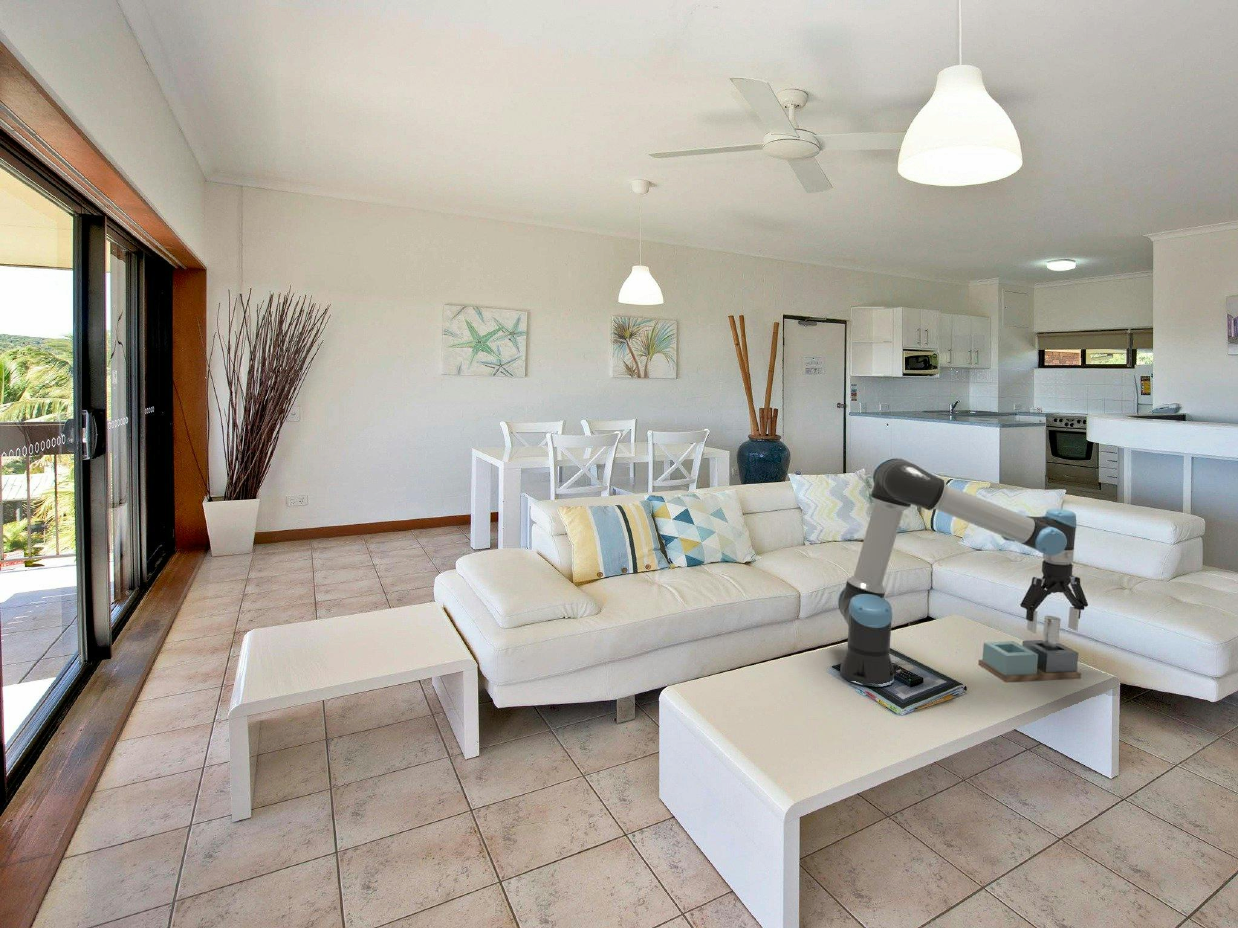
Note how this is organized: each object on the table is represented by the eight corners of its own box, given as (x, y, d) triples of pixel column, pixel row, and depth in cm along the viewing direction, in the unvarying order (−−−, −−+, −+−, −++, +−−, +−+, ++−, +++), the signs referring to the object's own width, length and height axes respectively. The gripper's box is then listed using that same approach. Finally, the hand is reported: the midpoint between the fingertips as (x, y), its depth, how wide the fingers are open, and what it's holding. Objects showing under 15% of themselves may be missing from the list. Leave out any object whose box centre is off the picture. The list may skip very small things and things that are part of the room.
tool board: (1005, 681, 189) (1005, 676, 188) (978, 664, 200) (978, 659, 200) (1080, 678, 191) (1080, 673, 191) (1049, 661, 203) (1049, 656, 203)
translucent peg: (1047, 665, 194) (1051, 620, 192) (1037, 659, 198) (1041, 615, 196) (1059, 664, 195) (1063, 620, 193) (1049, 659, 198) (1053, 615, 197)
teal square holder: (1005, 675, 189) (1006, 655, 189) (982, 661, 199) (983, 642, 199) (1036, 673, 191) (1038, 654, 190) (1012, 659, 200) (1013, 641, 200)
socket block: (1045, 673, 191) (1047, 653, 190) (1021, 659, 201) (1022, 640, 200) (1076, 671, 192) (1078, 652, 191) (1050, 657, 202) (1052, 639, 201)
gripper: (1028, 566, 187) (1023, 636, 190) (1106, 563, 190) (1100, 632, 193) (1009, 559, 195) (1005, 627, 197) (1085, 556, 198) (1079, 623, 200)
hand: (1052, 630), depth 195 cm, fingers open, 13 cm apart
